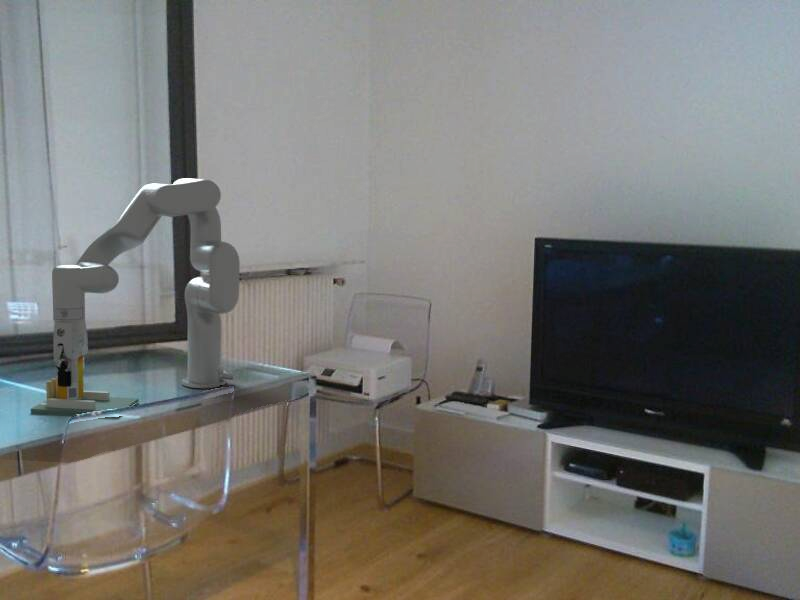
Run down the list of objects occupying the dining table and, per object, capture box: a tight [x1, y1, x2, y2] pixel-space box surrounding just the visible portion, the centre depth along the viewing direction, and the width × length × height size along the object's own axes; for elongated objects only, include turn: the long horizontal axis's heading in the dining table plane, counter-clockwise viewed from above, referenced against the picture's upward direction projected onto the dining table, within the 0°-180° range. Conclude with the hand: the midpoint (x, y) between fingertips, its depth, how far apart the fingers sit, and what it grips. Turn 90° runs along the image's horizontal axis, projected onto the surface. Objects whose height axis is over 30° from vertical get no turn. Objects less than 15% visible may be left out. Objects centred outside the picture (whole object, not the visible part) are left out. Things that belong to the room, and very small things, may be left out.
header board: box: [30, 375, 140, 417], centre depth 202 cm, size 22×14×7 cm, turn 88°
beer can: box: [56, 346, 84, 400], centre depth 201 cm, size 6×6×15 cm
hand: (70, 382), depth 202 cm, fingers closed on beer can, 6 cm apart
